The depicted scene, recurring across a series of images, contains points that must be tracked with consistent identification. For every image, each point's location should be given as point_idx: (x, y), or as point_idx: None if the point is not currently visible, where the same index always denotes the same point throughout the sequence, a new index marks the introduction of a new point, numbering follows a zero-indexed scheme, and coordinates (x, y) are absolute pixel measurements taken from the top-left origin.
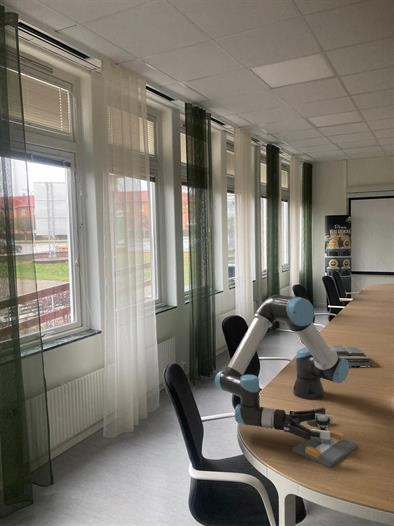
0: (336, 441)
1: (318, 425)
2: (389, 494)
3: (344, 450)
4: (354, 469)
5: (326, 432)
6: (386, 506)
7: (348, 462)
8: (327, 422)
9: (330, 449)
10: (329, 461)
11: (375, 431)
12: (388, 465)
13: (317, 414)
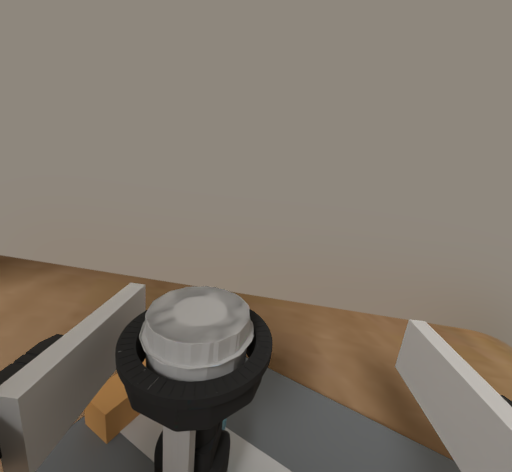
0: None
1: (191, 433)
2: (429, 323)
3: (270, 379)
4: (375, 374)
5: (438, 341)
6: (489, 335)
7: (337, 386)
8: (254, 317)
9: (287, 449)
10: (437, 467)
11: (87, 289)
12: (292, 302)
13: (48, 370)
